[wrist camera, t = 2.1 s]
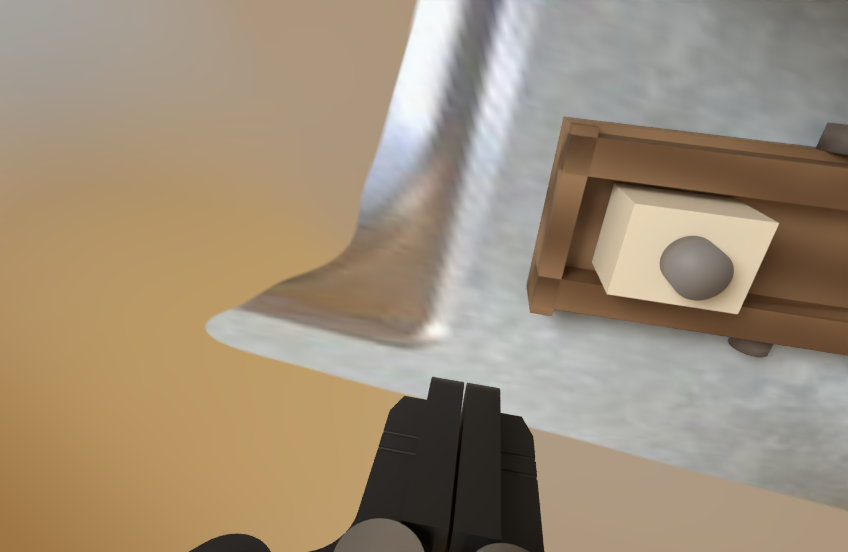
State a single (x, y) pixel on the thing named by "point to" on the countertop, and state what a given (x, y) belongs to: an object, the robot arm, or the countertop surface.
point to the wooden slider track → (717, 176)
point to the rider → (680, 247)
